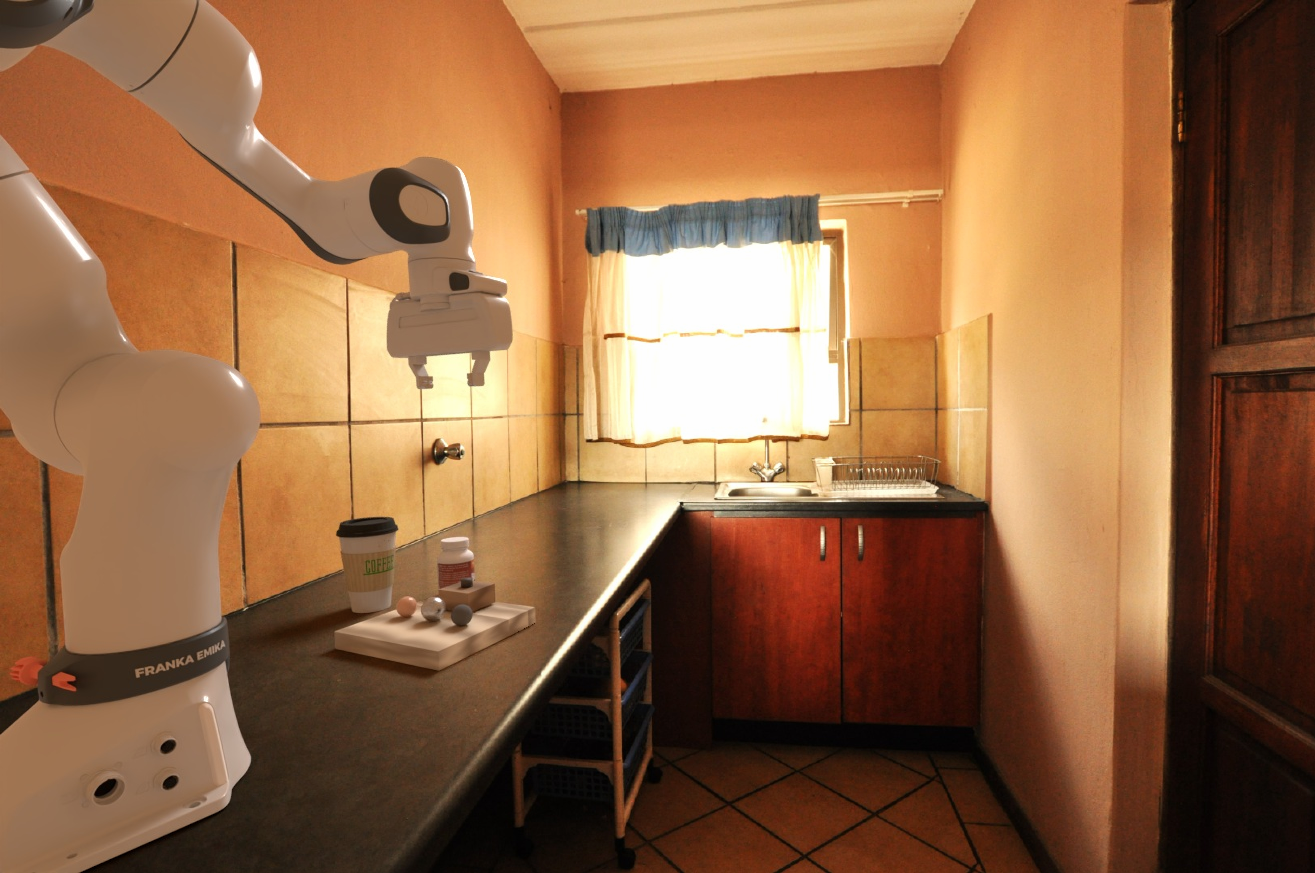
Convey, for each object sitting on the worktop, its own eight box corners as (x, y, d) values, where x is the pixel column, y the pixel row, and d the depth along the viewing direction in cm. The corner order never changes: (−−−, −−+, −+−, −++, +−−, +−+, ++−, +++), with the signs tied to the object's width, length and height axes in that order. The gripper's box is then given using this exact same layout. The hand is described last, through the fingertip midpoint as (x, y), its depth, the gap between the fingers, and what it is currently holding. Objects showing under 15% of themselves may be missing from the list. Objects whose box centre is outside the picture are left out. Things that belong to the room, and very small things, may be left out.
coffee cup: (402, 611, 110) (398, 522, 110) (337, 619, 107) (332, 528, 106) (401, 596, 120) (397, 514, 119) (342, 603, 116) (337, 519, 115)
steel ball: (433, 625, 94) (432, 601, 94) (416, 622, 96) (415, 599, 96) (451, 618, 98) (450, 595, 97) (434, 615, 99) (433, 592, 99)
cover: (468, 613, 99) (467, 585, 99) (439, 608, 102) (438, 581, 102) (495, 602, 104) (494, 575, 104) (466, 598, 107) (465, 572, 107)
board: (439, 670, 84) (438, 651, 84) (335, 648, 94) (334, 631, 93) (535, 622, 102) (535, 607, 102) (440, 608, 111) (439, 593, 111)
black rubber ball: (462, 630, 92) (461, 608, 92) (446, 627, 94) (445, 606, 94) (477, 623, 95) (476, 602, 95) (461, 620, 96) (460, 600, 96)
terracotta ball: (406, 620, 97) (405, 600, 97) (392, 618, 99) (391, 598, 99) (422, 614, 100) (421, 595, 100) (408, 612, 101) (407, 593, 101)
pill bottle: (480, 602, 114) (478, 539, 113) (444, 609, 111) (441, 544, 110) (469, 594, 119) (466, 534, 119) (434, 601, 116) (432, 538, 115)
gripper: (371, 291, 92) (378, 391, 93) (484, 274, 82) (491, 385, 83) (407, 296, 97) (413, 390, 98) (516, 281, 88) (522, 384, 89)
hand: (450, 387), depth 91 cm, fingers open, 8 cm apart
